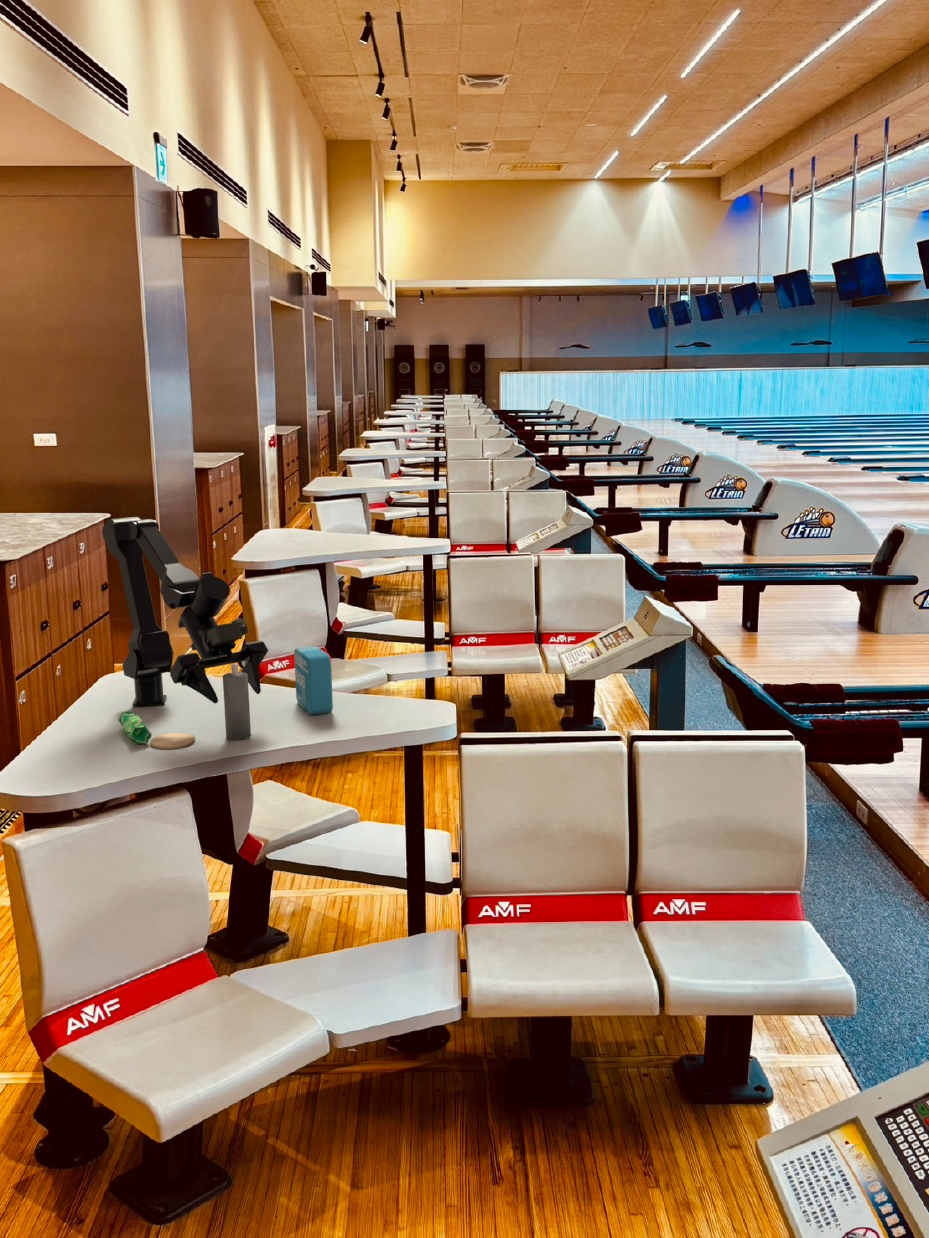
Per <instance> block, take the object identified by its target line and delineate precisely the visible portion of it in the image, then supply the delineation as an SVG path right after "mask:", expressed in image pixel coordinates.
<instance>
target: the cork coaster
mask: <svg viewBox="0 0 929 1238" xmlns="http://www.w3.org/2000/svg"><path fill="white" fill-rule="evenodd" d="M195 742H196V738H195V735H193V734H191V733H187V732H186V733H185V732H172V733H163V734H161V735H157V736H155V737H153V738H152V739H151V740H150V745H151V747H152V748H154V749H155V748H156V749H159V750H160V749H161V750H173V749H181V748H185V747H188V746H190V745H193V744H194V743H195Z"/></svg>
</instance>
